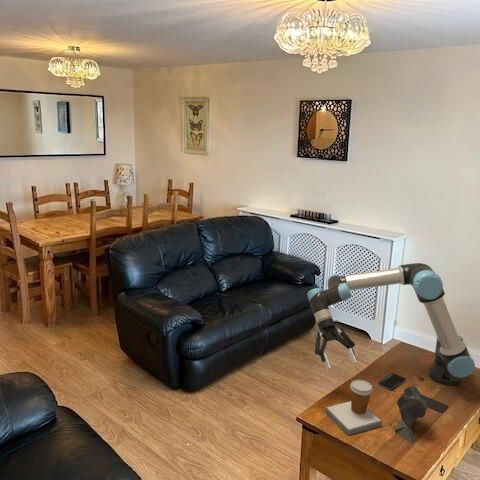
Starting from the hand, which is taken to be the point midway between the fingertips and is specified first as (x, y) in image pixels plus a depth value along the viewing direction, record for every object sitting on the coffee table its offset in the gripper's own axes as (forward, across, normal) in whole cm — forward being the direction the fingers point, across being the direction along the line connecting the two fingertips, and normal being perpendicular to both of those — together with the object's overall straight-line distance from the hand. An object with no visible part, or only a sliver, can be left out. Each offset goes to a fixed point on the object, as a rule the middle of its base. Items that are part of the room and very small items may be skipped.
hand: (341, 365), depth 207 cm
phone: (+24, -40, -5) cm, 47 cm away
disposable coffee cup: (+19, -4, -6) cm, 20 cm away
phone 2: (+10, -36, -19) cm, 42 cm away
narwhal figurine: (+31, -18, +3) cm, 36 cm away
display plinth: (+21, 0, -6) cm, 22 cm away
